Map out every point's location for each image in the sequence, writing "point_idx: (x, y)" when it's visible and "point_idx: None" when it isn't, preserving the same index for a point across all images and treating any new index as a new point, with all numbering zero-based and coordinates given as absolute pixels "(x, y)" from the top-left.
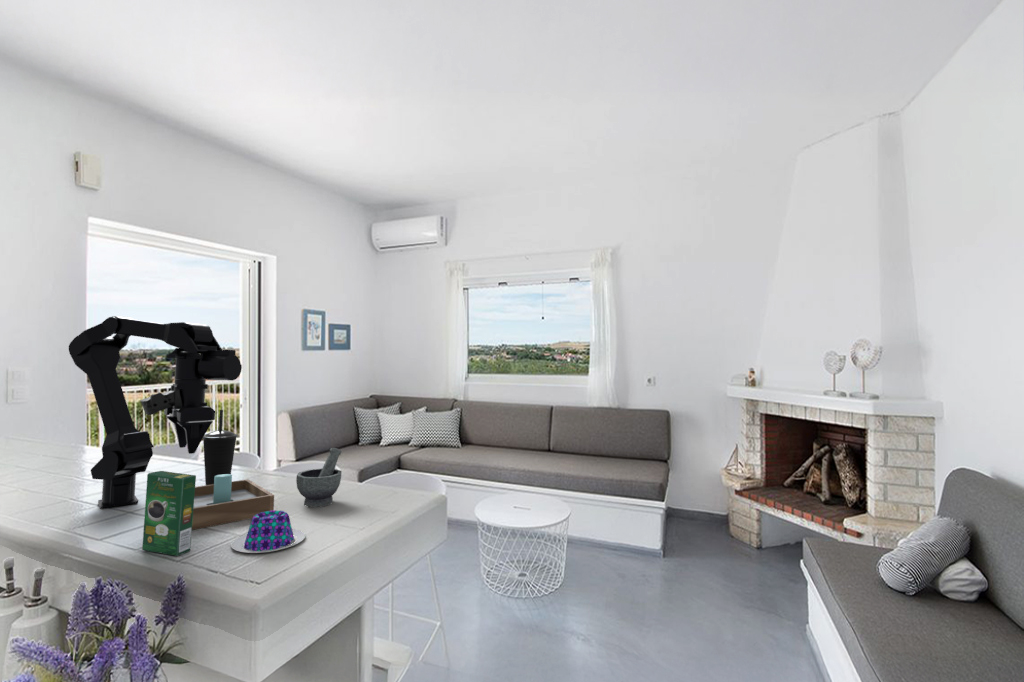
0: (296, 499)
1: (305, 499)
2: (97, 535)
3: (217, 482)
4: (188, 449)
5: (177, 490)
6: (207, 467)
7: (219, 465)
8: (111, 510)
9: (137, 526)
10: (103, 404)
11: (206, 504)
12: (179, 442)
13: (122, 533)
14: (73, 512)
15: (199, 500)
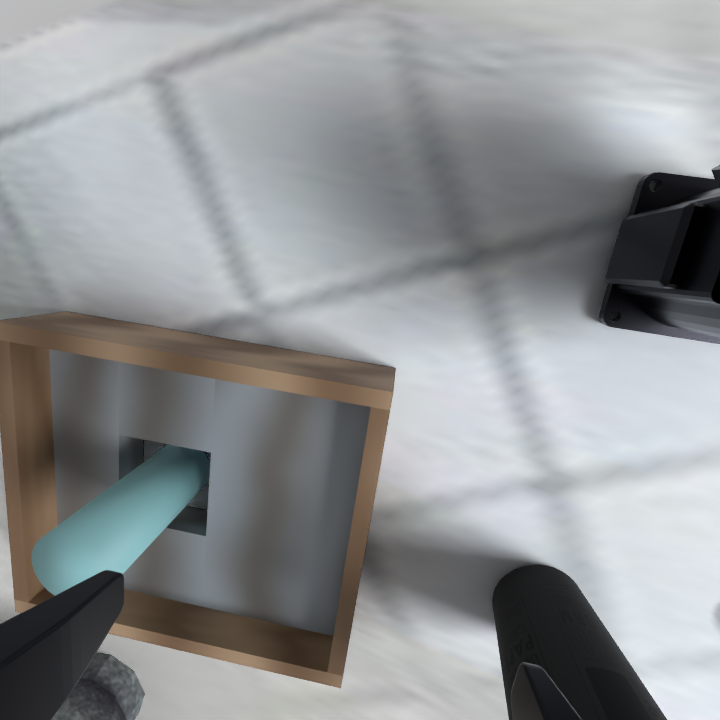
0: (188, 678)
1: (92, 674)
2: (218, 79)
3: (66, 519)
4: (63, 592)
5: None
6: (572, 670)
7: None
8: (576, 208)
9: (235, 220)
10: None
11: (211, 453)
12: (539, 715)
13: (182, 156)
14: (701, 65)
15: (282, 459)
